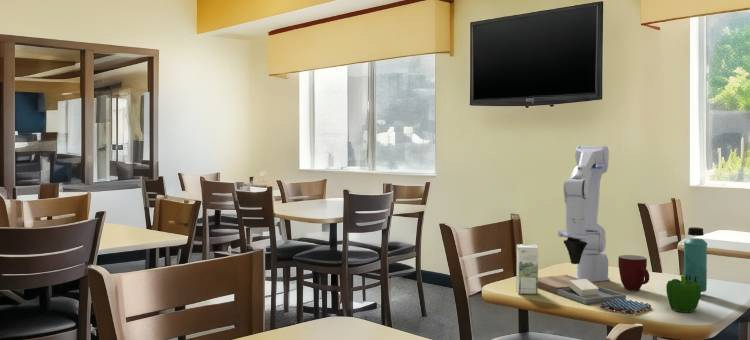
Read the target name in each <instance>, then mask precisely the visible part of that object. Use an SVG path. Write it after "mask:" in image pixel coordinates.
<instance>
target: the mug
mask: <svg viewBox="0 0 750 340" xmlns="http://www.w3.org/2000/svg"><path fill="white" fill-rule="evenodd" d="M647 260H648V258H647V257H646V256H642V255H635V254H622V255H618V271H619V276H620V277H619V278H620V282H621V284H622V286H623V287H624V288H623V289H625V290H626V291H630V292H638V291H640V289H641V288H642V286H643V285H646V284H648V283H649V282H650V273H649V271H648V269H647V266H648V261H647Z"/></svg>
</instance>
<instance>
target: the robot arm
mask: <svg viewBox="0 0 750 340" xmlns="http://www.w3.org/2000/svg"><path fill="white" fill-rule="evenodd" d="M609 153H610V150H609V147H608V146H607V145H577V146H576V148H575V155H574V157H575V162H576V165H577V166H575V167H573V169H572V171H571V174H570V176H569V178H568V179H567V180H564V182H563V190H562V191H563V197H564V199H563V200H564V204H565V229H558V230H557V237H560V238H566V239H565V240H563V244H564V246H565V248H566V250H567V252H568V255H569V260H570V264H572V265H576V275H571V276H572V277H575V278H578V279H587V280H588V281H590V282H591V283H594V282H603V281H610V279H611V278H609V259H608V256H607V254H606V253H605V252H604V251H605V250H606V243H607V240H606V237H607V236H606V230H605V228H604V227H603V226H601V225H600V224H599V223H598V219H599V217H598V215H599V203H600V201H599V200H600V188H601V180H602V176H603V175H604V174H605V173H607V172H608V169H609V160H610V159H609V157H610V155H609Z"/></svg>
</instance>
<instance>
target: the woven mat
mask: <svg viewBox="0 0 750 340" xmlns="http://www.w3.org/2000/svg"><path fill="white" fill-rule="evenodd" d="M599 309H600V310H604V309H605V310H606V311H610V312H613V311H614V310H615V311H614V313H618V312H620V313H619V314H623V313H625V315H628V314H629V315H628V316H632V315H634V314H636V315H640V314H642V313H645V312H649V311H652V309H653V308H652V305H651V304H650V303H647V302H646V303H644V302H642V301H640V302H638V301H637V300H632V299H629V300H628V299H627V298H626V299H624V300H623V299H621V298H618V299H615V300H612V301H608V302H604V303H600V308H599ZM605 310H604V311H605ZM636 315H635V316H636Z"/></svg>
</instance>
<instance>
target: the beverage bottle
mask: <svg viewBox="0 0 750 340" xmlns="http://www.w3.org/2000/svg"><path fill="white" fill-rule="evenodd" d="M687 235H688V236H696V237H691V238H687V239H686V240H685V241H683V245H684V246H683V247H684V248H683V255H682V256H683V259H682V261H683V264H682V265H683V267H682V268H683V270H682V272H683V275H685V281H686V280H691V281H693V282H698V283H699V284H700V286H701V293H705V292H706V291H707V290H708V289H707V288H708V287H707V286H708V285H707V284H708V280H707V279H708V268H707V264H708V262H707V260H708V242H706V240H704V239H703V238H697V236H699V237H701V236H704V228H702V227H698V226H697V227H692V226H691V227H688V232H687Z"/></svg>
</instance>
